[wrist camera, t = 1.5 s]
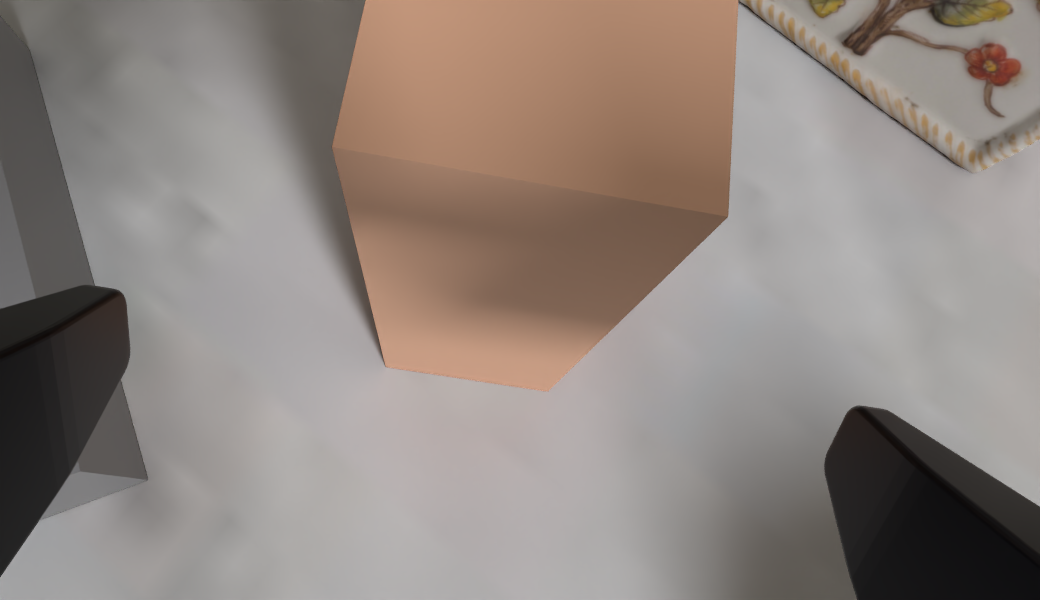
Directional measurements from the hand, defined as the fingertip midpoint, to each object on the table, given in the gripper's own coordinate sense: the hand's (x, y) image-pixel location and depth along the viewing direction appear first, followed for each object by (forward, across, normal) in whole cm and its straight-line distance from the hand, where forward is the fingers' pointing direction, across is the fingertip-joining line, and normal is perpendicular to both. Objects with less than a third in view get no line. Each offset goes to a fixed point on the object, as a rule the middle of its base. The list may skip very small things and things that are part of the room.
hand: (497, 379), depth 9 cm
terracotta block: (+11, 0, +5) cm, 12 cm away
